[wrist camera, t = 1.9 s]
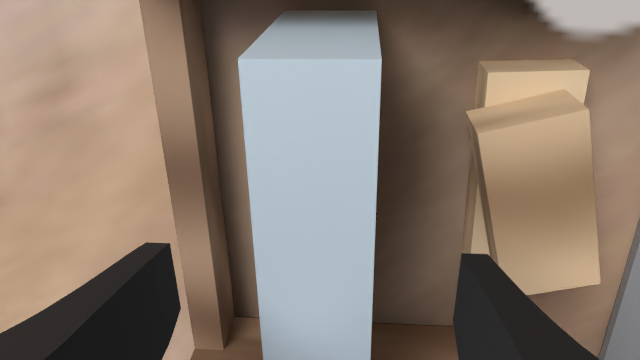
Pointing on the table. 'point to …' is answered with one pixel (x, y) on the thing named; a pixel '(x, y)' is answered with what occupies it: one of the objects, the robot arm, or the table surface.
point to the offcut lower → (504, 86)
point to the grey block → (626, 312)
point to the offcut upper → (538, 190)
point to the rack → (206, 201)
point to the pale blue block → (313, 180)
